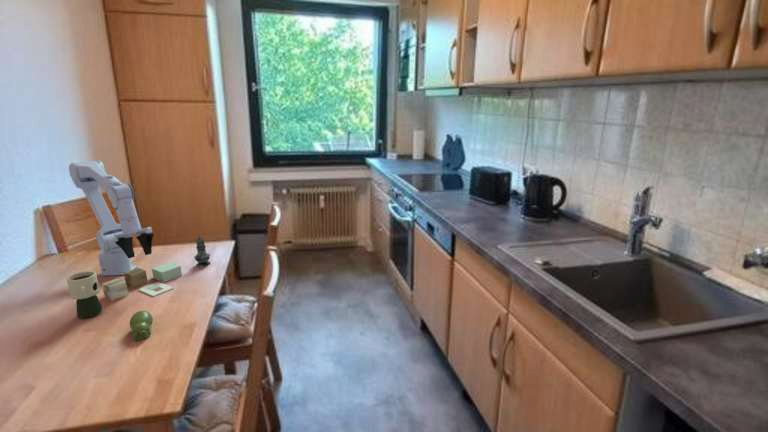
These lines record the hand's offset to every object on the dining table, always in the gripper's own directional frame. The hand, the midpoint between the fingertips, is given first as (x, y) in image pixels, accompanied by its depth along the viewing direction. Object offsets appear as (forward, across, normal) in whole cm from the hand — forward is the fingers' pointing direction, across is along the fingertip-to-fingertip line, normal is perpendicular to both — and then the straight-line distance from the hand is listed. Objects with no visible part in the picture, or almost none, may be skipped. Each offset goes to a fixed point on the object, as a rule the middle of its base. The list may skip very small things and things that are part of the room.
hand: (140, 256), depth 140 cm
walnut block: (+10, -4, 0) cm, 11 cm away
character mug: (+13, -2, -21) cm, 25 cm away
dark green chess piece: (+11, +7, +20) cm, 24 cm away
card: (+12, +5, -3) cm, 14 cm away
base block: (+11, +2, +8) cm, 13 cm away
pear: (+19, +21, -26) cm, 38 cm away
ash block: (+11, -4, -10) cm, 15 cm away
